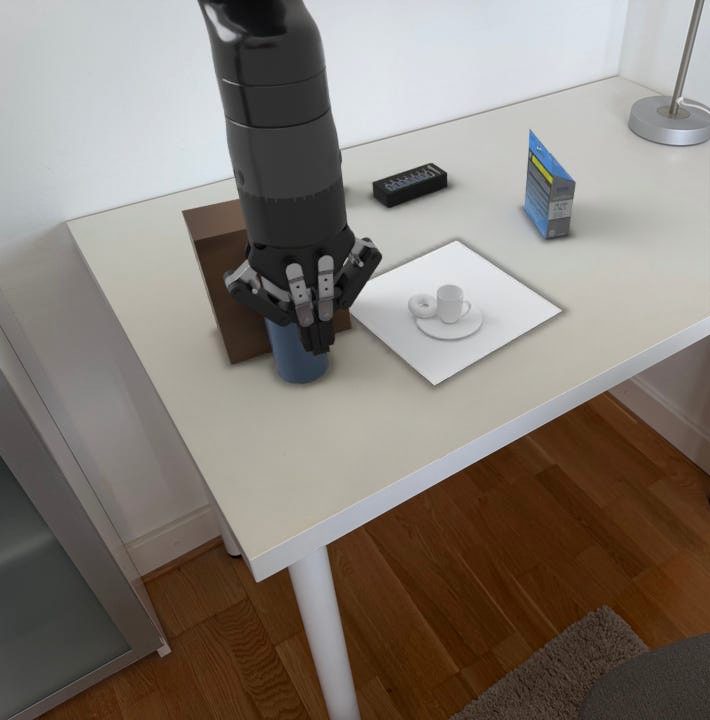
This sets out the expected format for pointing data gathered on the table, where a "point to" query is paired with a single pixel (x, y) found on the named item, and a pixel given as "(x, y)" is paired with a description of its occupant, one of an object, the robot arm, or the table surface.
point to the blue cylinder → (292, 347)
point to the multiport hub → (409, 185)
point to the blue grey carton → (548, 191)
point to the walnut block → (214, 257)
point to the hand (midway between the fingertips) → (318, 348)
